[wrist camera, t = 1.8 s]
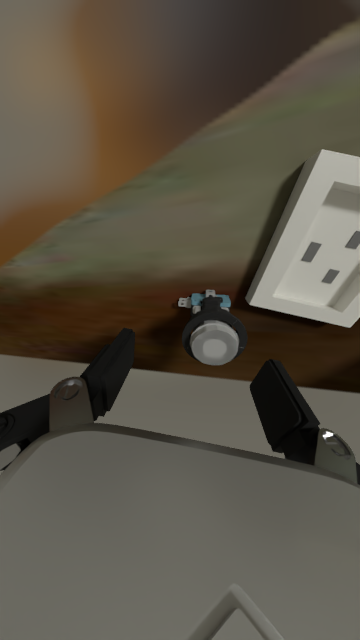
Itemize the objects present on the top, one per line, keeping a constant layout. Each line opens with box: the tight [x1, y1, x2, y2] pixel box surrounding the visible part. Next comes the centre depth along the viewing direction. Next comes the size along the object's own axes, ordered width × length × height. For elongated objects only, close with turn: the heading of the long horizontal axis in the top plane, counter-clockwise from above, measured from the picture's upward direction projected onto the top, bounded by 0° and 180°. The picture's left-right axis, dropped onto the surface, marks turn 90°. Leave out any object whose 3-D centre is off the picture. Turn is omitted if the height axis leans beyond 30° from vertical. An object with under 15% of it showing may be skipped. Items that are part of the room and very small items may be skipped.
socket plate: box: [245, 149, 360, 328], centre depth 15 cm, size 12×13×2 cm
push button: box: [178, 290, 247, 365], centre depth 16 cm, size 7×5×10 cm
